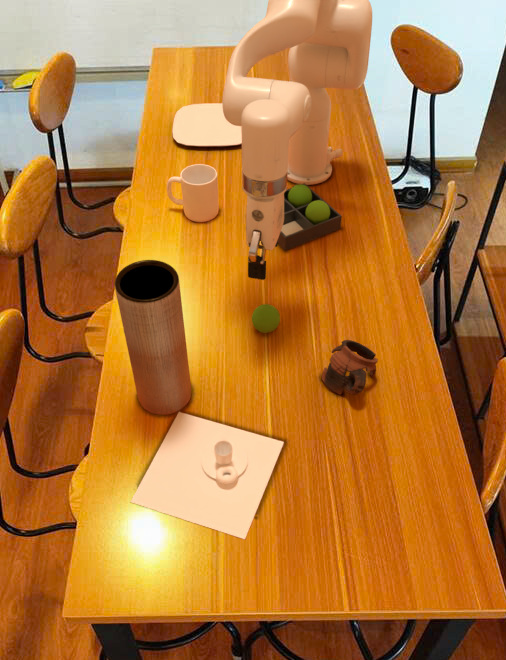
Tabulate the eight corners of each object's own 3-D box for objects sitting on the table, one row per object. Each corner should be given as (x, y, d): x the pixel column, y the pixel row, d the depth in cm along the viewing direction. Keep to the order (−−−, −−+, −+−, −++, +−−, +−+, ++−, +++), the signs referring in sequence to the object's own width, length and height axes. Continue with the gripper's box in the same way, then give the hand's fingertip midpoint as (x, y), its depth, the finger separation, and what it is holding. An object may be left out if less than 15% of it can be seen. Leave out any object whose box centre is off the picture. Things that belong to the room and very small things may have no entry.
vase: (192, 413, 124) (179, 299, 103) (137, 417, 124) (113, 303, 102) (190, 372, 130) (178, 256, 109) (138, 376, 130) (115, 261, 109)
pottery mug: (312, 368, 131) (331, 331, 127) (353, 379, 135) (373, 344, 131) (331, 404, 122) (353, 366, 118) (375, 415, 125) (398, 378, 121)
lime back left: (302, 197, 164) (303, 176, 160) (315, 209, 161) (317, 188, 157) (282, 204, 163) (283, 184, 158) (295, 217, 160) (297, 196, 155)
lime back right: (320, 213, 160) (321, 192, 156) (333, 225, 157) (336, 205, 153) (299, 221, 159) (301, 200, 154) (313, 233, 156) (315, 213, 151)
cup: (215, 224, 159) (213, 186, 151) (164, 219, 161) (160, 181, 153) (222, 203, 164) (220, 165, 157) (173, 199, 166) (169, 161, 158)
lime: (270, 315, 140) (270, 294, 136) (285, 331, 137) (286, 311, 133) (246, 325, 138) (246, 304, 134) (261, 342, 135) (261, 322, 131)
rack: (303, 196, 166) (304, 182, 163) (340, 228, 158) (341, 215, 155) (250, 215, 161) (249, 202, 158) (284, 251, 153) (285, 237, 150)
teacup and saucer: (236, 491, 114) (236, 477, 111) (192, 477, 116) (190, 464, 112) (254, 450, 119) (254, 436, 116) (211, 437, 121) (210, 423, 118)
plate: (253, 150, 179) (253, 144, 178) (170, 151, 179) (169, 145, 178) (253, 108, 193) (253, 102, 191) (176, 109, 193) (175, 103, 192)
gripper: (275, 212, 108) (272, 294, 121) (297, 154, 119) (292, 236, 132) (229, 205, 109) (231, 288, 122) (255, 149, 120) (254, 230, 133)
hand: (263, 261), depth 127 cm, fingers open, 9 cm apart
